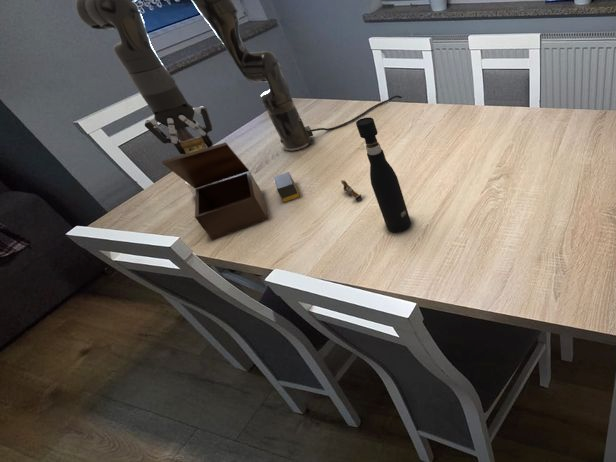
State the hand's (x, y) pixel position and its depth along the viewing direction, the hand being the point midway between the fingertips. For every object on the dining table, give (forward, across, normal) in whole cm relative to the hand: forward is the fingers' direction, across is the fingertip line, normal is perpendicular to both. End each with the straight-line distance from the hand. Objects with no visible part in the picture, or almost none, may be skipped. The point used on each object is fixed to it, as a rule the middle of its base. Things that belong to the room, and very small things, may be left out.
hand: (198, 150), depth 106 cm
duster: (+20, +15, 0) cm, 25 cm away
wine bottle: (+21, +38, -37) cm, 57 cm away
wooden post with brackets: (+21, +31, -15) cm, 40 cm away
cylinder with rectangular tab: (+20, -7, +18) cm, 28 cm away
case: (+20, 0, -2) cm, 20 cm away
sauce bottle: (+20, -8, +33) cm, 40 cm away
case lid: (+6, 0, 0) cm, 6 cm away
